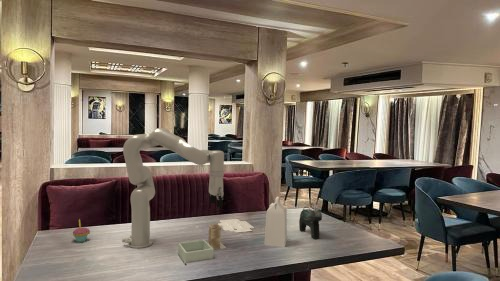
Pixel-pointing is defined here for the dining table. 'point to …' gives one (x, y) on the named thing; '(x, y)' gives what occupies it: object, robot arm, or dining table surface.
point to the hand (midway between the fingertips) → (216, 205)
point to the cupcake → (80, 233)
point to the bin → (195, 255)
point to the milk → (276, 225)
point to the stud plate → (220, 246)
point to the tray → (235, 225)
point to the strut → (214, 236)
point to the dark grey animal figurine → (310, 221)
